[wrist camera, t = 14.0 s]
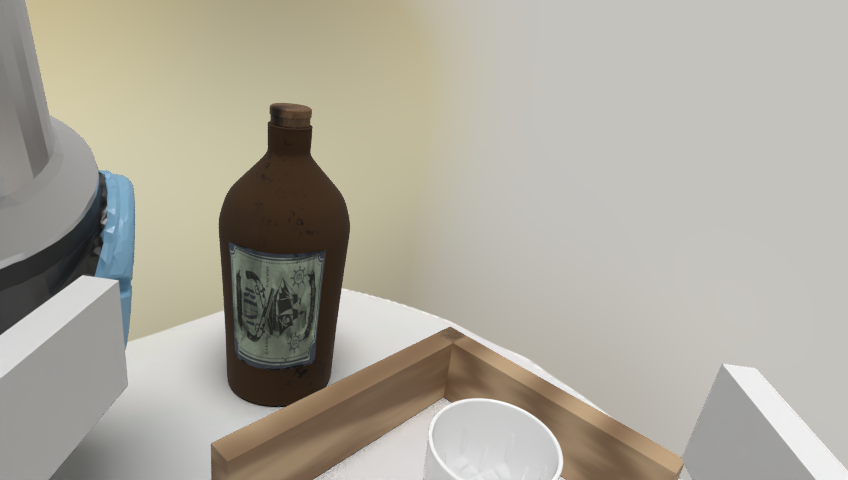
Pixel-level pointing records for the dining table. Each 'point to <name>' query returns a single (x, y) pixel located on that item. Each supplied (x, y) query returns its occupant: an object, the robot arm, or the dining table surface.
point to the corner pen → (418, 389)
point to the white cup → (490, 444)
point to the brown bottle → (282, 267)
